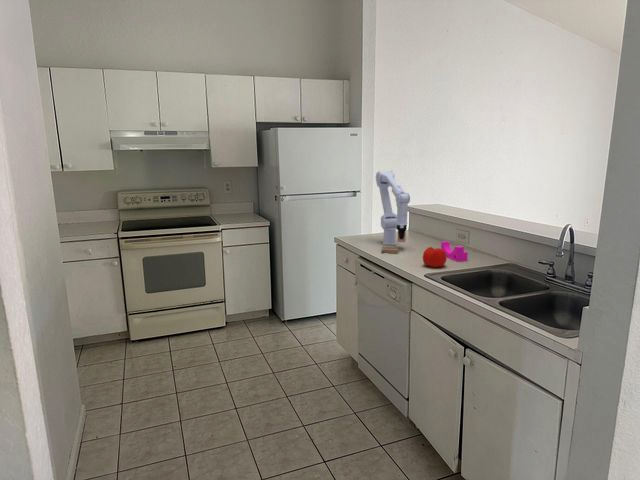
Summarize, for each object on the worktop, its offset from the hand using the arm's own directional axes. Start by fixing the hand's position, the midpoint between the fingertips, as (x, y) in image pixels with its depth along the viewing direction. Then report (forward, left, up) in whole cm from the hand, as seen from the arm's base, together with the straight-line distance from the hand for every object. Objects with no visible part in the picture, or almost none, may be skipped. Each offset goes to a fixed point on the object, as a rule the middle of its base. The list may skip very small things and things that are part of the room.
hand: (401, 238), depth 256 cm
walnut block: (+8, -6, -7) cm, 12 cm away
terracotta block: (0, 0, -2) cm, 2 cm away
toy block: (+15, +28, -7) cm, 32 cm away
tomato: (+34, +16, -7) cm, 38 cm away
